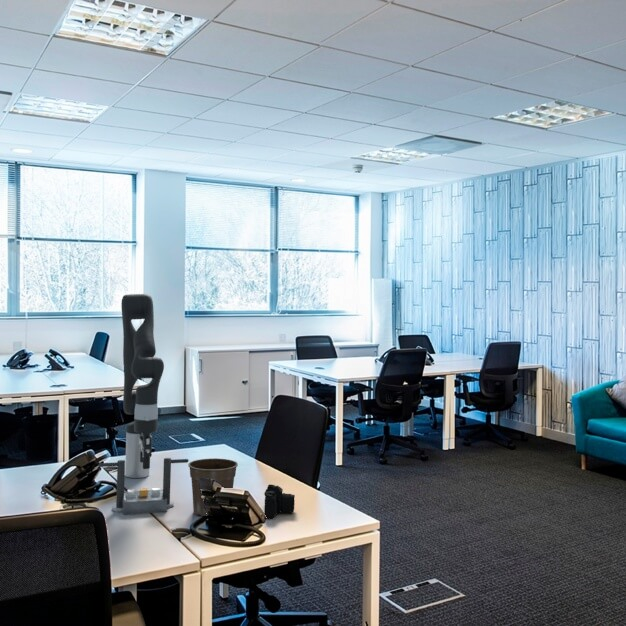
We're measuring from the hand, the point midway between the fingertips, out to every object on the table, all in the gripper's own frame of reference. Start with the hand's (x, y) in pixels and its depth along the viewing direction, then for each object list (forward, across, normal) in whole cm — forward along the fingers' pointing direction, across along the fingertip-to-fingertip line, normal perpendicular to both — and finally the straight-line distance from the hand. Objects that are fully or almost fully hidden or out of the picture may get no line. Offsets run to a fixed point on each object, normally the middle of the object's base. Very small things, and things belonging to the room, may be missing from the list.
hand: (144, 465), depth 223 cm
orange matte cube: (+10, 0, 0) cm, 10 cm away
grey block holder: (+14, 0, 0) cm, 14 cm away
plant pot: (+14, +10, +21) cm, 27 cm away
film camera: (+14, +16, +42) cm, 48 cm away
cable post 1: (+14, 0, -10) cm, 17 cm away
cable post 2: (+14, 0, +10) cm, 17 cm away
